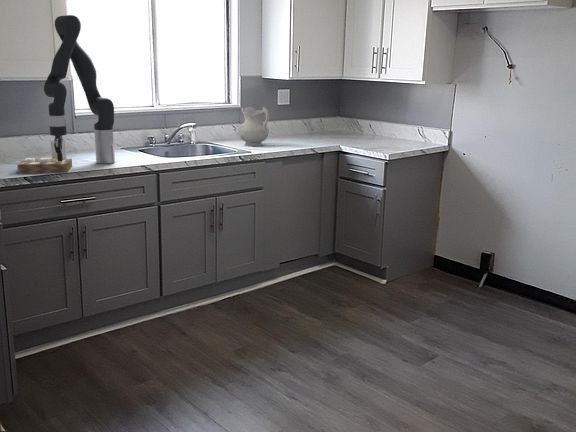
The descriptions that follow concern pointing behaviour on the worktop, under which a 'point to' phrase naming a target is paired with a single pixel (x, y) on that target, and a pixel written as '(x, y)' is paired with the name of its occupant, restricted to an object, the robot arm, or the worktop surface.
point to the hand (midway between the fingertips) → (60, 160)
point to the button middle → (45, 160)
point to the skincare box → (54, 154)
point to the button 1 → (29, 160)
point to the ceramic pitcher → (254, 126)
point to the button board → (45, 166)
